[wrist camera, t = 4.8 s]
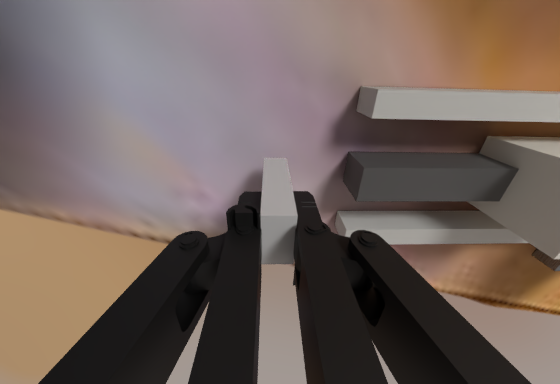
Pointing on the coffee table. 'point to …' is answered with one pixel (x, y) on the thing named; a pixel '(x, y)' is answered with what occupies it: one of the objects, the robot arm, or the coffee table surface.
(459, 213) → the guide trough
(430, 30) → the coffee table surface
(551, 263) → the housing
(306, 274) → the robot arm
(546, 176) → the plug
